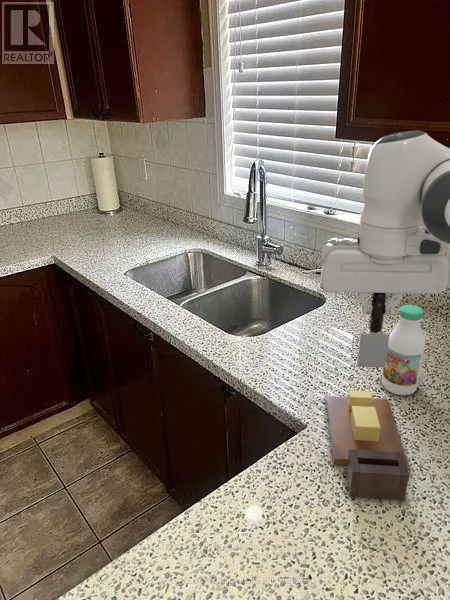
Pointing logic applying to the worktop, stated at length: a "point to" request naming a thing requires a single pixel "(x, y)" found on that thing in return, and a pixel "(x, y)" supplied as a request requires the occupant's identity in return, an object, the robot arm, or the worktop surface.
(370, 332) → the knife
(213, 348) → the worktop surface
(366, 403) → the butter slice
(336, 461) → the board
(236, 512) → the worktop surface
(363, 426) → the butter block
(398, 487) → the knife block
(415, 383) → the milk bottle
